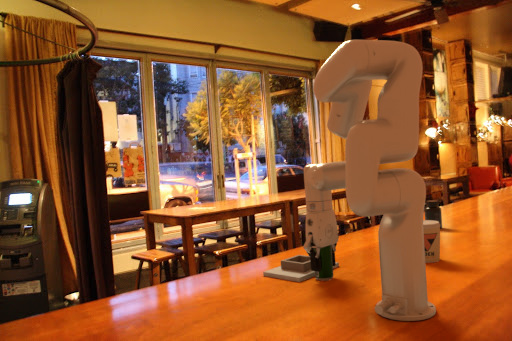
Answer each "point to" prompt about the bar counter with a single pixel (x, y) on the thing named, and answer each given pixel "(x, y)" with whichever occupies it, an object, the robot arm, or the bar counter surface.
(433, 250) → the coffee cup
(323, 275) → the beer can
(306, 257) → the holder board
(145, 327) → the bar counter surface
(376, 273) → the bar counter surface
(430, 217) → the supplement bottle
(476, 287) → the bar counter surface
